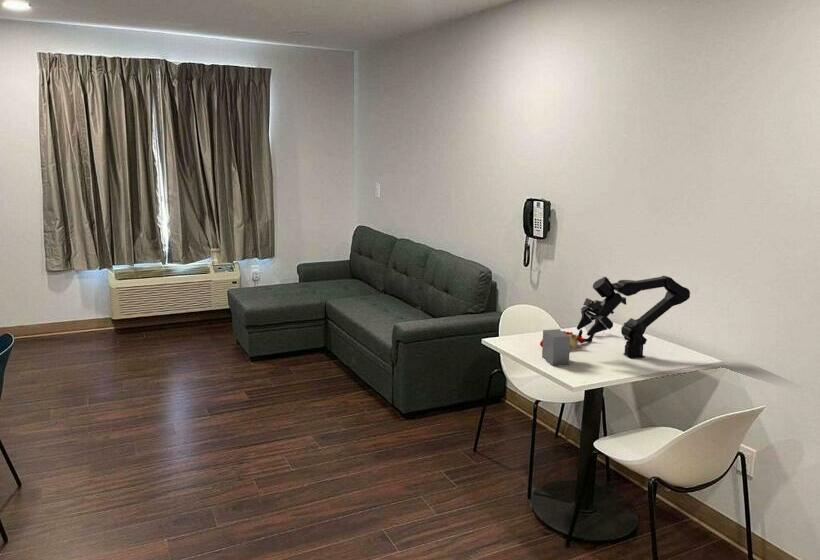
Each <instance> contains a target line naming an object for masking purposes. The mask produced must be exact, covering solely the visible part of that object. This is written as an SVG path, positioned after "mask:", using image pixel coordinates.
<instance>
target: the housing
mask: <svg viewBox="0 0 820 560" xmlns="http://www.w3.org/2000/svg"><path fill="white" fill-rule="evenodd" d="M559 329H560V328H557V329H556V328H555V329H543V330H542V339H543V347H541V348H542V349H541V351H542V353H541V358H542V359H543V358H544V359H545V360H546V362H547V363H548V362H549V363H550V364H549V363H548V364H549V365H550V366H552V367H559V366H558V365H562V366H570V353H571V352H570V350H571V349H570V336H569V335H567V334H566V333H564V332H562V330H561V329H560V330H559ZM544 359H543V360H544ZM545 360H544V361H545Z"/></svg>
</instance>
